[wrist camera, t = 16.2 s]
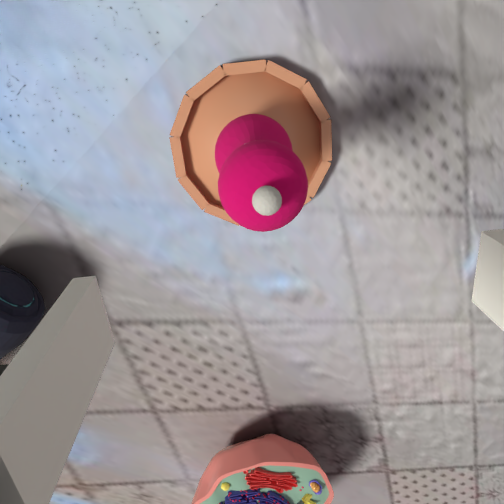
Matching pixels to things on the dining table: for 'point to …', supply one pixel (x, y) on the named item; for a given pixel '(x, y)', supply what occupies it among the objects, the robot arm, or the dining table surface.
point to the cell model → (264, 475)
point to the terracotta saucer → (242, 103)
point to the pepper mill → (259, 173)
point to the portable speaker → (17, 309)
